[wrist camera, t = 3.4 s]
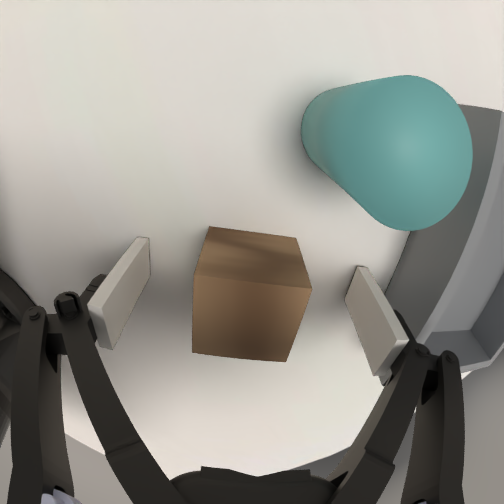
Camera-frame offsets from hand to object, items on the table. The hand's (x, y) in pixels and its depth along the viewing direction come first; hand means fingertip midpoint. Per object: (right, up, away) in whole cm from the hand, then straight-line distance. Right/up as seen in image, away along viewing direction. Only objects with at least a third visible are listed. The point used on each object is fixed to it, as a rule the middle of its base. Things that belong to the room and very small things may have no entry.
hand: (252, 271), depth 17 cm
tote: (+17, +1, -1) cm, 17 cm away
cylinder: (+5, +7, -4) cm, 10 cm away
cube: (0, 0, 0) cm, 0 cm away
